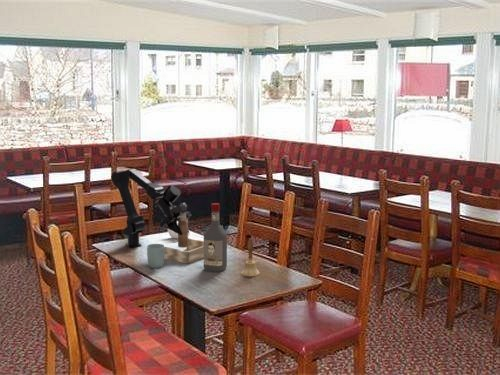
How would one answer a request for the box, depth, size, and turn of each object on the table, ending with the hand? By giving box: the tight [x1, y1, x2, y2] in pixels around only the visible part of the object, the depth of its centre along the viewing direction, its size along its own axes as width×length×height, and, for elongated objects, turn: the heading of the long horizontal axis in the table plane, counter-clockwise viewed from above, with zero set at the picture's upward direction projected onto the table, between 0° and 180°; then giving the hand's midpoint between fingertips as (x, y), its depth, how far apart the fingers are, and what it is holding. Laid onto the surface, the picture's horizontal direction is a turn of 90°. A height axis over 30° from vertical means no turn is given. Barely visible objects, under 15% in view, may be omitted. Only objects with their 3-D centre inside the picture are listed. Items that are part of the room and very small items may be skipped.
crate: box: [164, 237, 204, 265], centre depth 296 cm, size 16×20×6 cm
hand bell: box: [240, 237, 261, 277], centre depth 272 cm, size 8×8×16 cm
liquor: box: [203, 202, 228, 273], centre depth 276 cm, size 9×9×30 cm
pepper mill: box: [177, 212, 189, 249], centre depth 296 cm, size 5×5×17 cm
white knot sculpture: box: [167, 221, 191, 240], centre depth 334 cm, size 11×12×9 cm
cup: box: [146, 243, 165, 270], centre depth 279 cm, size 8×8×10 cm
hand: (185, 233), depth 296 cm, fingers closed on pepper mill, 5 cm apart
